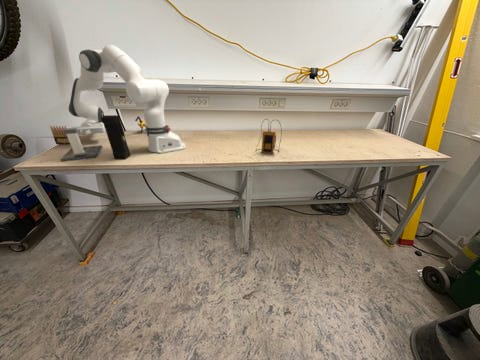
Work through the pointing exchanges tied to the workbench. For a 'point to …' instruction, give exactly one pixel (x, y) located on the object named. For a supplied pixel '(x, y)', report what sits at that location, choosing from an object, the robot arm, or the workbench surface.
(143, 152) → the workbench surface
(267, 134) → the multimeter
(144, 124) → the robot dog
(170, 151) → the robot arm
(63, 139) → the ammunition clip
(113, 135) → the portable radio
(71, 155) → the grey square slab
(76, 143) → the fader tab
